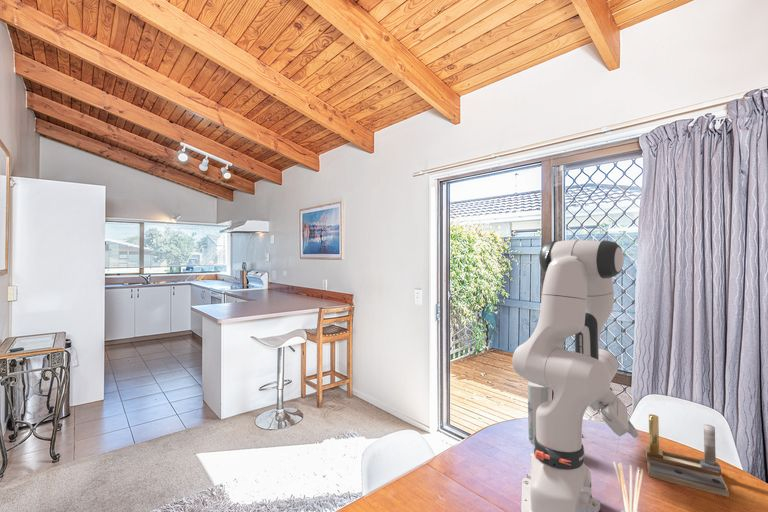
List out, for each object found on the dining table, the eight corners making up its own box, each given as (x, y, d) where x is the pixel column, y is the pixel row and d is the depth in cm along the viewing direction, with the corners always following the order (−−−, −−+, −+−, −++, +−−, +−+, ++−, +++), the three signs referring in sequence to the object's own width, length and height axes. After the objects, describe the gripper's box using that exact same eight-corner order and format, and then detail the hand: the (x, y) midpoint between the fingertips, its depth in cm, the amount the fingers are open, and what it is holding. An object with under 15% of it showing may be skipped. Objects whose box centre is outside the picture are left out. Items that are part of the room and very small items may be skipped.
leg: (663, 460, 108) (662, 419, 109) (646, 456, 111) (646, 416, 111) (661, 454, 112) (661, 415, 112) (646, 450, 114) (645, 412, 114)
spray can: (530, 435, 128) (529, 379, 128) (549, 440, 125) (549, 382, 125) (526, 443, 123) (525, 385, 123) (547, 448, 119) (546, 388, 120)
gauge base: (728, 497, 94) (727, 443, 94) (648, 476, 104) (647, 427, 104) (716, 471, 106) (715, 423, 106) (645, 454, 115) (645, 410, 115)
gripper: (606, 403, 109) (647, 444, 104) (608, 383, 126) (643, 418, 121) (590, 414, 112) (628, 455, 106) (594, 393, 129) (627, 427, 123)
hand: (636, 435), depth 114 cm, fingers closed
